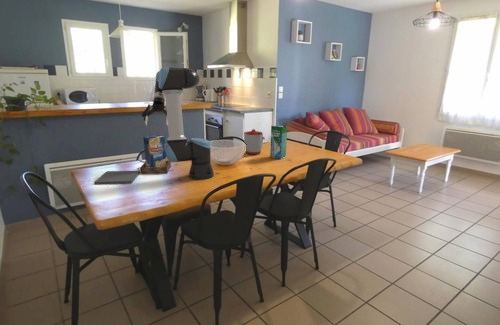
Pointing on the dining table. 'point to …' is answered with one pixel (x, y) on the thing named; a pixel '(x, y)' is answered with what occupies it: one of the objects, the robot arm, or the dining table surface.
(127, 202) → the dining table surface
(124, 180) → the charcoal mat
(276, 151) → the milk carton
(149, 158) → the beverage box
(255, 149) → the citrus juicer
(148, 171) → the walnut holder
